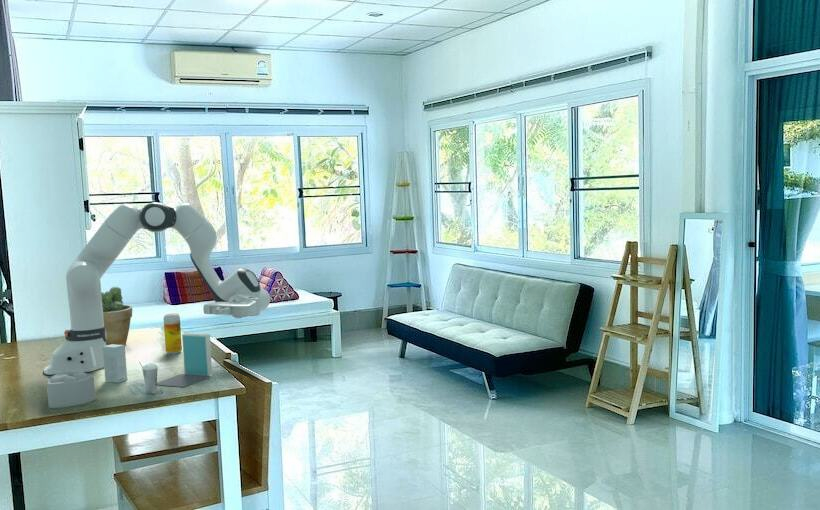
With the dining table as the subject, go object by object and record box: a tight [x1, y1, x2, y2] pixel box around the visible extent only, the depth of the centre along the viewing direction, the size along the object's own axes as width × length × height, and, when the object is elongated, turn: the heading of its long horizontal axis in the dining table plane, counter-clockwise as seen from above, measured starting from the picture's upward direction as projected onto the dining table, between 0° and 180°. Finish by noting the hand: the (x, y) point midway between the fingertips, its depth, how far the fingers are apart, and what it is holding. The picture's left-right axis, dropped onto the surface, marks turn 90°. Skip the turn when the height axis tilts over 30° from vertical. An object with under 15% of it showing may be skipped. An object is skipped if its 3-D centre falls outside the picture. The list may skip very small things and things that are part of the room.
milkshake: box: [139, 361, 158, 395], centre depth 232 cm, size 4×5×10 cm
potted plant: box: [101, 286, 133, 346], centre depth 308 cm, size 18×19×25 cm
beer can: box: [163, 313, 183, 355], centre depth 290 cm, size 6×6×15 cm
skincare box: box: [103, 344, 128, 384], centre depth 249 cm, size 6×4×12 cm
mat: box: [157, 373, 211, 388], centre depth 246 cm, size 14×12×1 cm
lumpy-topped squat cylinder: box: [46, 371, 96, 409], centre depth 226 cm, size 10×13×9 cm
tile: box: [181, 332, 213, 377], centre depth 253 cm, size 2×10×14 cm, turn 68°
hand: (217, 312), depth 263 cm, fingers closed
